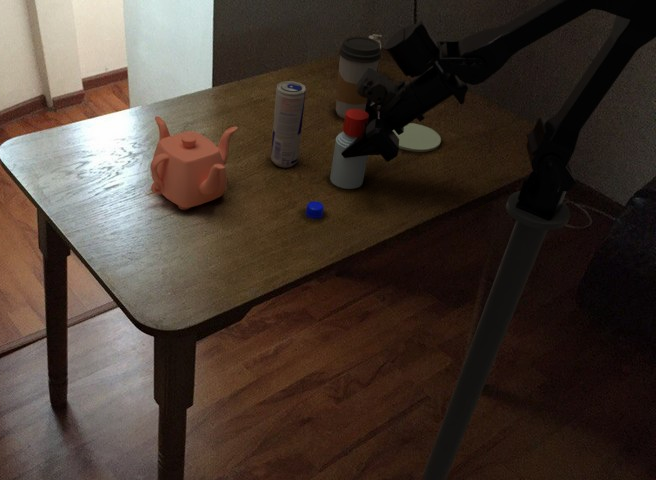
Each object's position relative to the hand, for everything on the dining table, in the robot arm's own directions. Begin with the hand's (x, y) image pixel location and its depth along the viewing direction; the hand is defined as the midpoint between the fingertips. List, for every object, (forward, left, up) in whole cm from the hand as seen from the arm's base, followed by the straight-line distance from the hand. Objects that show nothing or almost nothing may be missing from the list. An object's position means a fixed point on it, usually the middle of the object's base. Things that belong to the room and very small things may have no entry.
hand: (343, 146), depth 124 cm
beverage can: (+11, +2, -7) cm, 13 cm away
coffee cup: (+13, -24, -7) cm, 28 cm away
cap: (-1, -1, +3) cm, 3 cm away
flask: (+19, -41, -7) cm, 45 cm away
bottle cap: (-3, +12, -7) cm, 14 cm away
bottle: (-1, -1, -7) cm, 7 cm away
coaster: (-2, -24, -7) cm, 25 cm away
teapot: (+16, +21, -7) cm, 27 cm away
